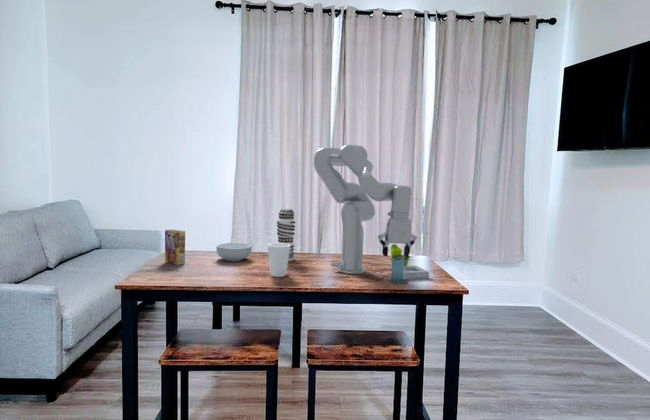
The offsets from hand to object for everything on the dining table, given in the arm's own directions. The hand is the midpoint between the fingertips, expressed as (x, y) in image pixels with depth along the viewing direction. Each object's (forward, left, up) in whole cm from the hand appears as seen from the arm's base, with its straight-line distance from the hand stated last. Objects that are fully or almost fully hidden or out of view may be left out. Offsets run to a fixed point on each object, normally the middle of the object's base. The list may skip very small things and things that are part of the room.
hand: (395, 255), depth 182 cm
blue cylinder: (+1, -1, -10) cm, 10 cm away
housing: (+11, +7, -11) cm, 17 cm away
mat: (+1, -1, -11) cm, 11 cm away
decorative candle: (-37, +47, -11) cm, 61 cm away
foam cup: (-46, +17, -11) cm, 50 cm away
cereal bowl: (-62, +49, -11) cm, 80 cm away
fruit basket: (+13, +22, -11) cm, 28 cm away
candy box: (-89, +45, -11) cm, 101 cm away
